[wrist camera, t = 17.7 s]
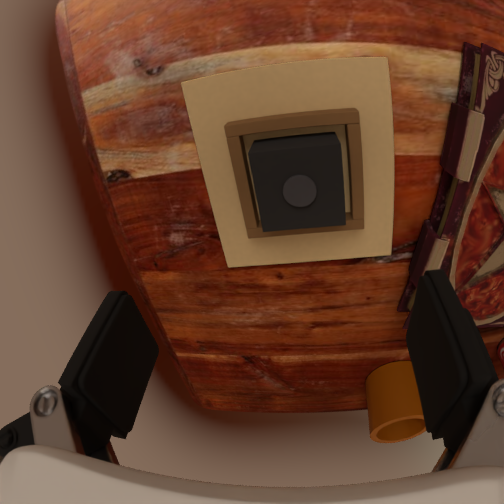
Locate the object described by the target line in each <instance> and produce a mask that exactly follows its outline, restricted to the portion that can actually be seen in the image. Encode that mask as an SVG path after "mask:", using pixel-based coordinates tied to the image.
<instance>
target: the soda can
mask: <svg viewBox="0 0 504 504" xmlns="http://www.w3.org/2000/svg"><path fill="white" fill-rule="evenodd" d="M497 352H498V355H499V358H500V360H501V363H502V365H503V368H504V339H503V340H502V341H501V342H500V343H499V345H498V350H497Z"/></svg>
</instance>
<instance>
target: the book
mask: <svg viewBox="0 0 504 504" xmlns="http://www.w3.org/2000/svg"><path fill="white" fill-rule="evenodd" d="M440 165H441V166H442V167H443V168H444V171H443V175H442V179H441V182H440V186H439V190H438V194H437V197H436V201H435V204H434V208H433V211H432V214H431V218H430V220H425V221H424V224H423V228H422V231H421V234H420V237H419V240H418V243H417V246H416V249H415V252H414V255H413V258H412V261H411V263H410V266H409V269H408V270H409V273H410V279H409V281H408V284H407V286H406V289H405V291H404V294H403V296H402V299H401V301H400V303H399V306H398V308H397V311H398V312H410V313H409V315H408V317H407V319H406V321H405V324H404V326H403V329H408V326H409V322H410V318H411V313H412V309H413V304H414V300H415V295H416V290H417V285H418V280H419V277H420V276H424V273H425V271H427V270H436V269H443V270H444V271H445V273H446V275H447V276H448V278H449V280H450V282H451V284H452V286H453V288H454V290H455V292H456V294H457V296H458V298H459V300H460V302H461V304H462V306H463V308H466V309H468V310H469V312H470V313H471V315H472V317H473V320H474V322H475V324H476V326H477V328H480V327H500V326H504V53H503V52H501V51H499V50H497V49H495V48H493V47H490V46H488V45H486V44H484V43H481V48H479V47H477V46H474V45H472V44H469V43H467V42H464V48H463V59H462V69H461V78H460V86H459V93H458V100H457V104H456V103H453V102H452V104H451V110H450V116H449V122H448V127H447V133H446V138H445V143H444V148H443V152H442V157H441V161H440Z"/></svg>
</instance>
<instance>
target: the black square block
mask: <svg viewBox="0 0 504 504" xmlns="http://www.w3.org/2000/svg"><path fill="white" fill-rule="evenodd" d="M248 157H249V162H250V168H251V173H252V178H253V183H254V188H255V193H256V198H257V204H258V209H259V214H260V219H261V225H262V230H263V232H271V231H282V230H293V229H305V228H317V227H329V226H342V225H346V213H345V192H344V176H343V162H342V149H341V143H340V141H339V139H338V137H337V135H336V133H335V132H323V133H312V134H301V135H292V136H283V137H275V138H267V139H259V140H254V141H253V143H252V146H251V148H250V150H249V152H248Z"/></svg>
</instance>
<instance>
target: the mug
mask: <svg viewBox="0 0 504 504" xmlns="http://www.w3.org/2000/svg"><path fill="white" fill-rule="evenodd" d="M365 386H366V396H367V406H368V417H369V430H370V438H371V439H372V440H373V441H375V442H379V443H395V442H400V441H404V440H408V439H411V438H413V437H416V436H418V435H420V434H422V433H423V432H425V431H426V427H425V421H424V416H423V411H422V406H421V401H420V397H419V392H418V388H417V383H416V379H415V375H414V370H413V366H412V362H411V361H397V362H392V363H389V364H386V365H383V366H381V367H379V368H377V369H376V370H374V371H373V372H372V373H371V374H370V375H369V376H368V377H367V379H366V381H365Z"/></svg>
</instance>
